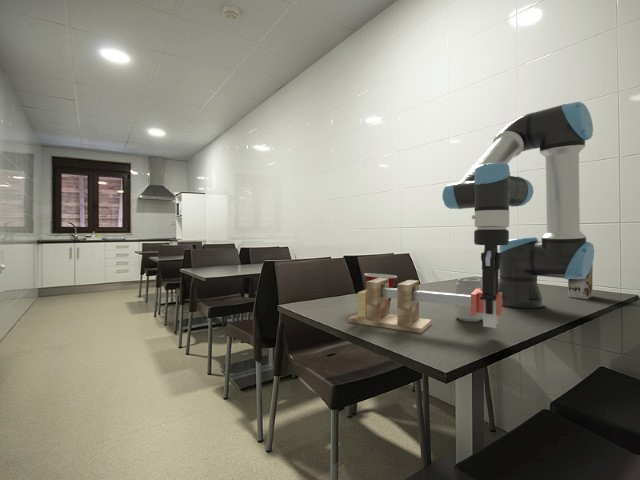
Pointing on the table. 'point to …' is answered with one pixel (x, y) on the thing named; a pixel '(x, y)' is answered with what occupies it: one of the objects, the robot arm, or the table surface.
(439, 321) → the table surface
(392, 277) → the plastic cup
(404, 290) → the bearing stand
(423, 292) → the shaft
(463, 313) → the can
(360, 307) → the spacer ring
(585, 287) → the coffee box
